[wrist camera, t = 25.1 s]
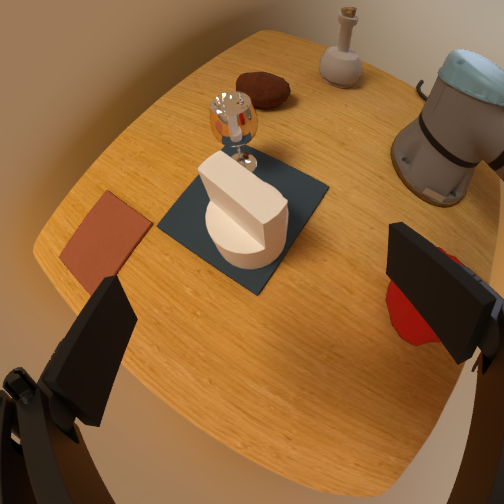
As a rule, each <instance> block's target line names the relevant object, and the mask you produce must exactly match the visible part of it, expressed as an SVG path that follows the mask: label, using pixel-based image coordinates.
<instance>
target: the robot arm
mask: <svg viewBox="0 0 504 504" xmlns="http://www.w3.org/2000/svg"><path fill="white" fill-rule="evenodd" d="M422 84H423V80H421V81H420V82H419V83H418V85H417V86H416V89H417V91H418V93H419V95H420V96H421V97H422V98H423V99H424V100H425V101H426V103H425V105H424V107H423V109H422V111H421V113H420V115H419V117H418V118H416V119H415V120H414V121H413V122H411V123H410V124H409V125H408V126H406V127H405V128H404V129H403V130H401V131H400V132H399V134H398V135H397V136H396V138H395V139H394V142H393V144H392V146H391V159H392V163H393V166H394V168H395V170H396V172H397V174H398V176H399V177H400V179H401V180H402V181H403V183H404V184H405V185H406V186H407V187H408V188H409V189H410V190H411V191H412V192H413V193H414V194H415V195H417V196H418V197H419V198H421V199H422V200H424V201H426V202H428V203H430V204H433V205H436V206H441V207H448V206H452V205H454V204H456V203H457V202H458V201H459V200H460V199H461V198H462V197H463V196H464V194H465V193H466V191H467V188H468V186H469V183H470V180H471V178H472V175H473V172H474V169H475V167H476V166H477V165H478V163H479V162H480V161H481V160H482V159H483V160H484V161H485V162H486V163H487V164H488V165H489V166H490V167H491V168H492V169H493V170H494V171H495V172H496V174H497V175H498V176H499V177H500V178H501V179H502V180H503V181H504V70H503V69H501V68H500V67H499V66H497V65H496V64H494V63H493V62H491V61H489V60H488V59H486V58H484V57H482V56H480V55H478V54H476V53H473V52H471V51H467V50H462V49H457V50H453V51H451V52H450V53H449V54H448V56H447V58H446V60H445V62H444V64H443V66H442V67H441V68H440V69H439V71H438V77H437V79H436V82H435V84H434V86H433V88H432V90H431V93H430V95H429V97H428V98H427V97H426V96H425V95H424V94H423V93H422V92H421V90H420V87H421V85H422ZM386 274H387V275H388V277H389V278H390V279H391V280H392V281H393V282H394V283H395V285H396V286H397V287H398V288H399V289H400V290H401V292H402V293H403V294H404V295H405V296H406V298H407V299H408V300H409V301H410V302H411V304H412V305H413V306H414V307H415V309H416V310H417V311H418V312H419V314H420V315H421V316H422V317H423V319H424V320H425V321H426V322H427V324H428V325H429V326H430V328H431V329H432V330H433V331H434V333H435V334H436V335H437V337H438V338H439V339H440V341H441V342H442V344H443V345H444V346H445V348H446V349H447V350H448V352H449V353H450V355H451V356H452V357H453V359H454V360H455V362H456V363H457V365H459V364H461V363H463V362H464V361H466V360H468V359H470V358H471V357H472V355H473V353H474V352H475V350H476V348H477V346H478V347H479V348H480V350H481V353H480V354H479V356H478V358H477V360H476V362H475V364H474V366H473V368H472V372H474V370H475V369H476V367H477V366H478V371H477V373H478V374H477V385H476V394H475V401H474V408H473V414H472V420H471V426H470V430H469V435H468V440H467V443H466V448H465V451H464V455H463V459H462V462H461V465H460V469H459V472H458V475H457V478H456V481H455V484H454V487H453V489H452V492H451V494H450V497H449V499H448V502H447V504H504V299H503V298H502V297H501V296H500V295H499V294H498V293H497V292H495V291H494V290H493V289H492V288H491V287H490V286H489V285H488V284H487V283H486V282H484V281H482V279H481V278H480V277H479V276H478V275H477V276H476V274H475V273H474V272H473V271H472V270H470V269H469V268H468V267H466V266H464V265H462V264H460V263H456V262H455V261H454V260H452V259H451V258H450V257H449V256H447V255H446V254H445V253H444V252H442V251H441V250H440V249H438V248H437V247H436V246H434V245H433V244H432V243H431V242H429V241H428V240H427V239H425V238H424V237H422V236H421V235H420V234H418V233H417V232H416V231H414V230H413V229H411V228H410V227H409V226H407V225H406V224H404V223H403V222H398V223H392V224H389V238H388V256H387V269H386ZM137 320H138V319H137V317H136V315H135V313H134V311H133V309H132V307H131V305H130V303H129V301H128V298H127V296H126V294H125V292H124V290H123V288H122V285H121V283H120V281H119V279H118V276H117V275H114V276H109V277H104V279H103V280H102V282H101V283H100V284H99V286H98V287H97V289H96V290H95V292H94V293H93V294H92V296H91V297H90V299H89V300H88V302H87V303H86V305H85V306H84V308H83V309H82V311H81V312H80V314H79V315H78V317H77V319H76V320H75V322H74V323H73V325H72V326H71V328H70V330H69V331H68V333H67V335H66V336H65V338H64V339H63V340H62V341H61V342H60V343H59V344H58V346H57V348H56V349H55V353H53V355H52V356H51V360H49V362H48V363H47V365H46V367H45V369H44V371H43V373H42V374H41V376H40V379H39V380H38V382H37V384H36V383H35V381H34V380H33V379H32V378H31V377H30V376H29V374H28V373H27V372H26V371H25V370H24V369H23V368H22V367H18V368H15V369H13V370H12V371H11V372H9V374H8V375H7V376H6V378H5V380H4V382H3V388H4V389H5V390H6V391H7V392H8V393H9V395H10V396H11V397H12V398H10V396H9V395H8V394H7V393H6V392H5V391H3V390H0V504H115V502H114V500H113V498H112V497H111V495H110V493H109V492H108V490H107V488H106V486H105V485H104V482H103V481H102V479H101V477H100V475H99V473H98V471H97V469H96V467H95V465H94V463H93V460H92V458H91V456H90V454H89V451H88V449H87V447H86V444H85V442H84V440H83V437H82V435H81V432H80V429H79V427H78V426H77V425H76V424H75V423H74V421H75V418H76V417H77V418H78V419H79V420H80V421H81V422H83V423H84V424H85V425H90V426H96V427H100V424H101V420H102V417H103V414H104V410H105V407H106V404H107V401H108V398H109V395H110V392H111V389H112V386H113V383H114V380H115V377H116V375H117V372H118V369H119V366H120V363H121V361H122V358H123V355H124V353H125V350H126V347H127V345H128V342H129V340H130V337H131V335H132V332H133V330H134V327H135V325H136V322H137ZM11 432H12V433H13V434H14V435H15V436H17V437H18V438H19V439H20V444H18V443H16V442H15V441H14V440H13V439H12V438H11Z"/></svg>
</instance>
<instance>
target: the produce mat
mask: <svg viewBox="0 0 504 504" xmlns="http://www.w3.org/2000/svg"><path fill="white" fill-rule="evenodd" d="M151 226H152V223H151V222H150V221H148V220H147V219H146V218H144V217H143V216H142V215H140V214H139V213H137V212H136V211H135V210H133V209H132V208H131V207H129V206H128V205H127V204H125V203H124V202H122V201H121V200H120V199H118V198H117V197H116V196H114V195H113V194H112V193H110V192H109V191H108V190H106V191H105V192H104V194H103V195H102V196H101V197H100V199H99V200H98V201H97V203H96V204H95V205H94V207H93V208H92V209H91V211H90V212H89V213H88V215H87V216H86V217H85V219H84V220H83V221H82V223H81V224H80V226H79V227H78V228H77V230H76V231H75V233H74V234H73V236H72V237H71V239H70V240H69V242H68V243H67V245H66V246H65V248H64V249H63V251H62V253H61V254H60V256H59V258H60V259H61V260H62V262H63V263H64V264H65V265H66V267H67V268H68V269H69V270H70V272H71V273H72V274H73V275H74V276H75V278H76V279H77V280H78V281H79V282H80V284H81V285H82V286H83V287H84V288H85V289H86V290H87V292H88V293H89V294H90V295H91V296H92V294H93V293H94V292H95V290H96V289H97V287H98V286H99V284H100V283H101V282H102V280H103V279H104V277H109V276H114V275H116V274H117V272H118V271H119V269H120V268H121V266H122V265H123V264H124V262H125V261H126V259H127V258H128V257H129V255H130V254H131V252H132V251H133V250H134V248H135V247H136V246H137V244H138V243H139V241H140V240H141V239H142V237H143V236H144V235H145V233H146V232H147V231H148V230H149V228H150V227H151Z"/></svg>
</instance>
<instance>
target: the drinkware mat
mask: <svg viewBox="0 0 504 504" xmlns="http://www.w3.org/2000/svg"><path fill="white" fill-rule="evenodd" d="M221 151H222V152H224V153H225V154H227V155H228V156H229V157H231V156H233V155H234V154H237V153H238V151H237V149H236V148H235V147H229V146H226V145H225V146H224V147H223V148H222V149H221ZM241 152H245V153H249V154H251V155H253V156H254V157H255V158H256V161H257V166H256V169H255V170H254V171H253V172H252V173H253V174H254V175H255V176H257V177H258V178H259V179H261V180H262V181H263V182H266V183H268V184H270V185H271V186H273V187H275V188H276V189H277V190H278V191H279V192H280V193H281V194H282V196H283V197H284V198H285V199H286V200H288V202H287V208H288V212H289V213H288V225H287V234H286V243H285V245H284V248H283V251H282V252H281V253H280V255H279V256H278V257H277V259H275V260H274V261H273V262H272V263H270V264H269V265H266V266H264V267H262V268H257V269H242V268H239V267H236V266H234V265H232V264H231V263H229V262H228V261H226V260H225V259H224V257H223V256H222V255H221V253H220V252H219V250H218V248H217V247H216V245H215V243H214V242H213V240H212V238H211V236H210V234H209V232H208V229H207V227H206V218H205V215H206V211H207V206H208V204H209V202H210V198H209V196H208V193H207V191H206V189H205V186H204V184H203V182H202V179H201V177H200V175H198V176H197V177H196V178H195V180H194V181H193V182H192V183H191V184H190V185H189V186H188V188H187V189H186V190H185V191H184V192H183V194H182V195H181V196H180V197H179V198H178V200H177V201H176V202H175V203H174V204H173V206H172V207H171V208H170V209H169V211H168V212H167V213H166V214H165V216H164V217H163V218H162V219H161V221H160V222H159V223H158V225H157V227H158V228H159V229H161V230H162V231H163V232H165V233H166V234H168V235H169V236H170V237H172V238H173V239H175V240H176V241H177V242H179V243H180V244H182V245H183V246H185V247H186V248H187V249H189V250H190V251H192V252H193V253H195V254H196V255H197V256H199V257H200V258H202V259H203V260H205V261H206V262H208V263H209V264H211V265H212V266H214V267H215V268H216V269H218V270H219V271H221V272H222V273H224V274H225V275H227V276H228V277H230V278H231V279H233V280H234V281H236V282H237V283H239V284H240V285H242V286H243V287H245V288H246V289H248V290H249V291H251V292H252V293H254V294H255V295H257V296H258V294H259V293H260V291H261V290H262V288H263V287H264V286H265V284H266V283H267V281H268V280H269V278H270V277H271V275H272V274H273V272H274V271H275V269H276V268H277V266H278V265H279V263H280V262H281V260H282V259H283V257H284V256H285V254H286V253H287V251H288V250H289V248H290V247H291V245H292V244H293V242H294V241H295V239H296V238H297V236H298V235H299V233H300V232H301V230H302V229H303V227H304V225H305V224H306V222H307V221H308V219H309V218H310V216H311V215H312V213H313V212H314V210H315V208H316V207H317V205H318V204H319V202H320V201H321V199H322V198H323V196H324V194H325V193H326V191H327V190H328V188H329V186H327V185H326V184H324V183H322V182H320V181H318V180H316V179H315V178H313V177H311V176H309V175H307V174H305V173H303V172H301V171H299V170H297V169H295V168H293V167H291V166H289V165H287V164H285V163H283V162H281V161H279V160H277V159H275V158H273V157H271V156H269V155H267V154H265V153H263V152H260V151H258V150H256V149H254V148H252V147H249V146H247V145H242V147H241Z"/></svg>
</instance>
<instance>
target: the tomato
mask: <svg viewBox="0 0 504 504" xmlns="http://www.w3.org/2000/svg"><path fill="white" fill-rule="evenodd" d="M437 248H438V249H440V250H441V251H442V252H444V253H445V254H446V252H445V251H444V250H443V249H441V248H440V247H437ZM446 255H447V256H449V257H450V258H451V259H452V260H454V261H455V262H456V263H460V264H462V263H461V262H460V261H459V260H458V259H457V258H456V257H454V256H452V255H449V254H446ZM462 265H463V264H462ZM386 303H387V307H388V310H389V314H390V318H391V323H392V326H393V327H394V328H395V330H396V331H397V332H398V334H399V335H400V337H401V338H402V339H404V340H405V341H407V342H408V343H410V344H411V345H415V346H418V345H422V344H425V343H429V342H441V341H440V339H439V338H438V337H437V335H436V334H435V333H434V331H433V330H432V329H431V328H430V326H429V325H428V324H427V322H426V321H425V320H424V319H423V317H422V316H421V315H420V314H419V312H418V311H417V310H416V309H415V307H414V306H413V305H412V304H411V302H410V301H409V300H408V299H407V298H406V296H405V295H404V294H403V293H402V292H401V290H400V289H399V288H398V287H397V286H396V285H395V283H394V282H393V281H392V280H391V282H390V284H389V286H388V289H387V295H386Z"/></svg>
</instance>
